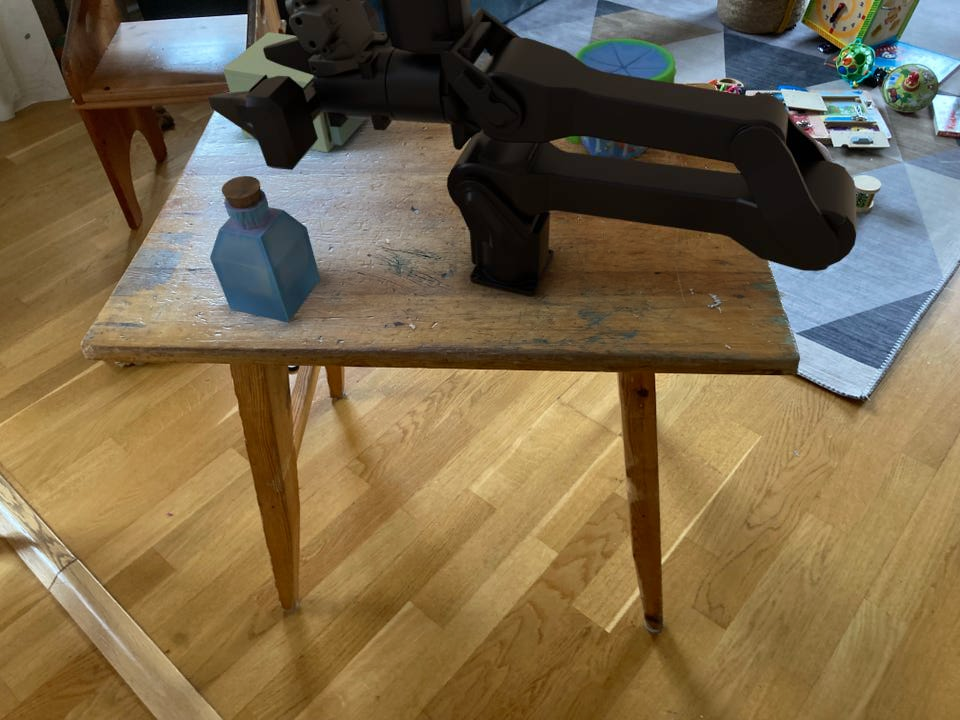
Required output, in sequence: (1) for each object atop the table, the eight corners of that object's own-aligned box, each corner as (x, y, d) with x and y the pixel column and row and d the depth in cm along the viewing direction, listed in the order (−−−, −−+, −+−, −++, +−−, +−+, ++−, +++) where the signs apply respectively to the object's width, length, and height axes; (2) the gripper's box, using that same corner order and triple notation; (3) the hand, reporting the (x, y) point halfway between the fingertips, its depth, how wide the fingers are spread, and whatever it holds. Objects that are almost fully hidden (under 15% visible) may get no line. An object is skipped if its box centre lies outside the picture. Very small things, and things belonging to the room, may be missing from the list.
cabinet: (365, 112, 92) (353, 44, 86) (327, 153, 86) (312, 83, 80) (285, 98, 95) (268, 31, 89) (243, 136, 89) (222, 68, 83)
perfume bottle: (289, 322, 67) (254, 215, 58) (230, 309, 69) (187, 202, 60) (320, 279, 71) (292, 172, 62) (264, 267, 73) (228, 161, 64)
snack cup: (635, 105, 91) (646, 21, 83) (698, 143, 85) (715, 56, 77) (532, 147, 85) (534, 62, 78) (591, 190, 79) (598, 102, 72)
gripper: (425, -65, 61) (262, -62, 65) (322, 35, 49) (132, 29, 53) (445, 68, 69) (298, 62, 73) (361, 180, 57) (193, 165, 61)
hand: (239, 76), depth 65 cm, fingers open, 9 cm apart
